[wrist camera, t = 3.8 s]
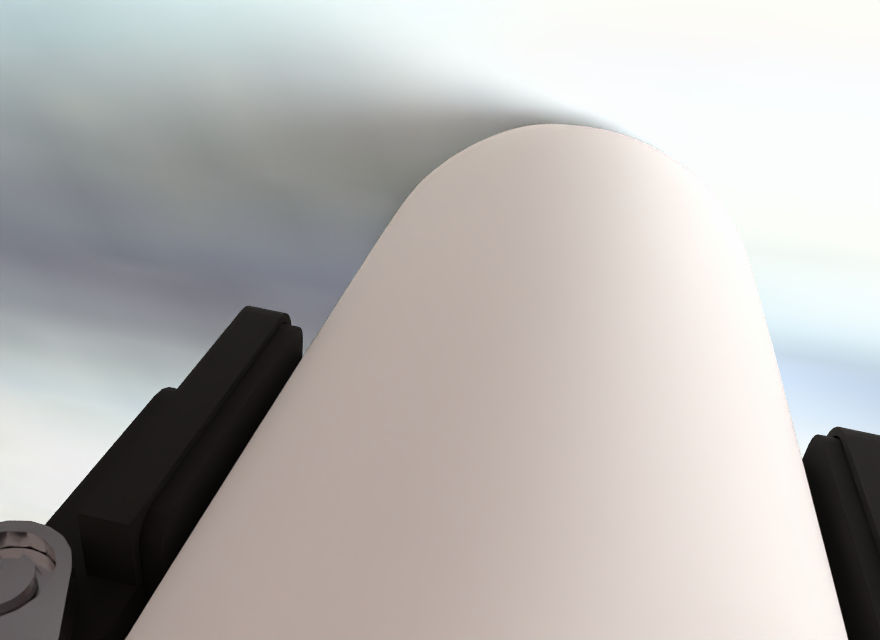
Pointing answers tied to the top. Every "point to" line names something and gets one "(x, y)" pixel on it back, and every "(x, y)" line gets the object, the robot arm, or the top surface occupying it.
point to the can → (524, 429)
